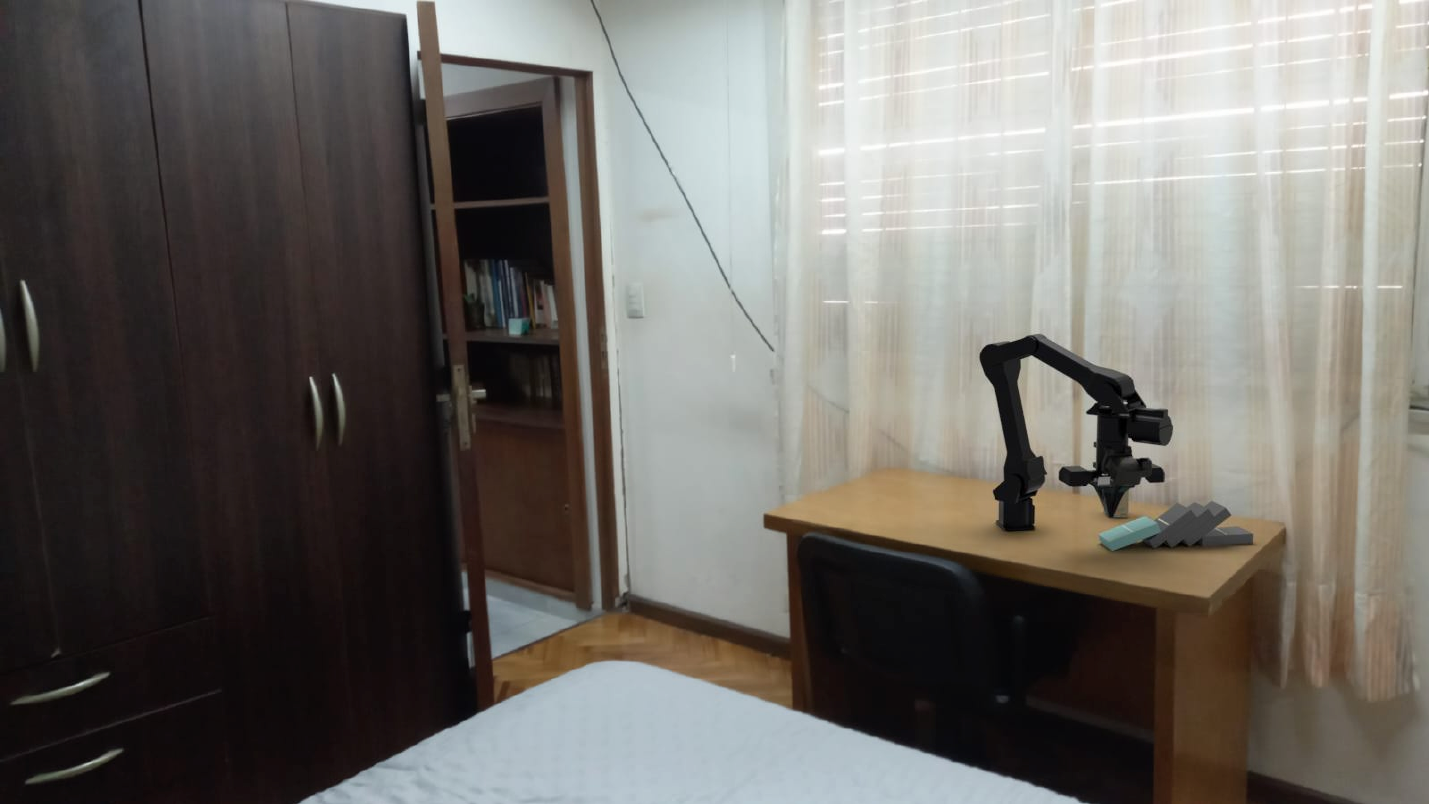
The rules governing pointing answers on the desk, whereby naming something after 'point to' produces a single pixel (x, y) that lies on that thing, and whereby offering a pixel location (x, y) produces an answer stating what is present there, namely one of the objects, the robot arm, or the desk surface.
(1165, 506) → the desk surface
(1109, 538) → the head tile
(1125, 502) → the box
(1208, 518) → the tile
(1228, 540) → the tile
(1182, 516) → the tile
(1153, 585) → the desk surface
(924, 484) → the desk surface
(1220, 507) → the tile
